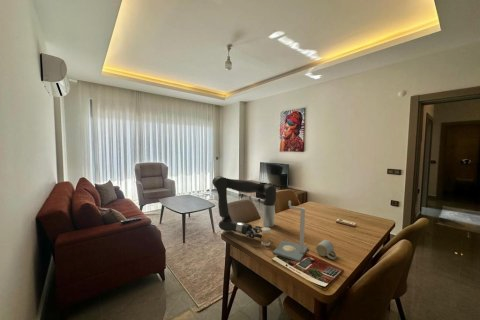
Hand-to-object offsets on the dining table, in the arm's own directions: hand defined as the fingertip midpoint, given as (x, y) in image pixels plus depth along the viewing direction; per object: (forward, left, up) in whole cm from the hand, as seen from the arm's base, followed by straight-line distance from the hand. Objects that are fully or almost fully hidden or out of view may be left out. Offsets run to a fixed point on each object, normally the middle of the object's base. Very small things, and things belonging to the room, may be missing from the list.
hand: (264, 234), depth 132 cm
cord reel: (0, +1, -6) cm, 6 cm away
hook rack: (0, +18, -6) cm, 19 cm away
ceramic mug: (-8, +37, -6) cm, 38 cm away
